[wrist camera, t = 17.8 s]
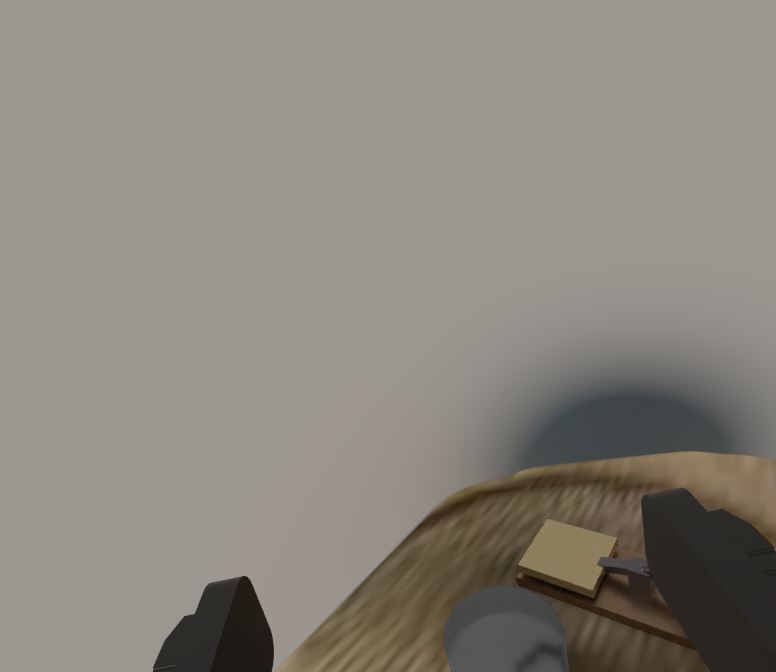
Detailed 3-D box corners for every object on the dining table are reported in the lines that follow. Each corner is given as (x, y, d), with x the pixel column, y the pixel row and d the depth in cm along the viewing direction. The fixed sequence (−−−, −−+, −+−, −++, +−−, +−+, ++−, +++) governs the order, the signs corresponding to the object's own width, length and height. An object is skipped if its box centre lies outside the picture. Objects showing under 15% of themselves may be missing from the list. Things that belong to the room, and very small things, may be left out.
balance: (517, 584, 46) (509, 538, 45) (549, 532, 51) (542, 490, 50) (784, 683, 34) (785, 625, 33) (792, 603, 39) (794, 550, 37)
